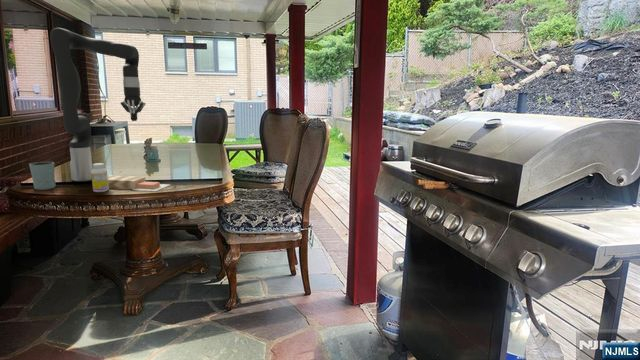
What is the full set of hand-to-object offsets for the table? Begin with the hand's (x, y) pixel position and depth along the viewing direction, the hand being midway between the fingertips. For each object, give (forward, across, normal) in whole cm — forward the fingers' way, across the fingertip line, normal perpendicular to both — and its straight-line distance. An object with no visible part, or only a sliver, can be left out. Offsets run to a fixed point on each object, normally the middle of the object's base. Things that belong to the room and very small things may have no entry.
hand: (134, 120), depth 216 cm
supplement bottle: (+31, -3, -26) cm, 41 cm away
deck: (+31, 0, -15) cm, 34 cm away
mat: (+31, +16, -15) cm, 38 cm away
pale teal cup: (+31, -33, -26) cm, 52 cm away
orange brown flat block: (+31, +15, -16) cm, 37 cm away
